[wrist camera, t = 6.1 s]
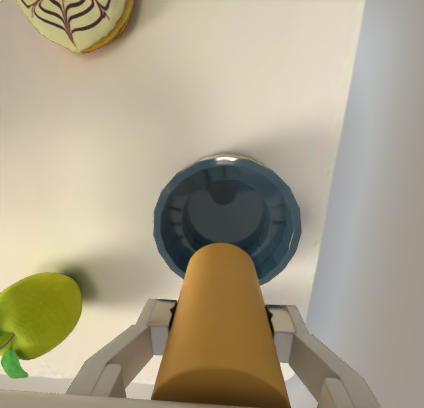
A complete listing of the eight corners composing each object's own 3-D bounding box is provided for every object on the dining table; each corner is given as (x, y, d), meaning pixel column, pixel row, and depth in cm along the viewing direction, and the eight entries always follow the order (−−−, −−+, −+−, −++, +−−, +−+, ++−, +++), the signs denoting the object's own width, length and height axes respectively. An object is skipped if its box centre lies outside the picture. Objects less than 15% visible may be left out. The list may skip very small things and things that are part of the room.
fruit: (64, 318, 32) (-4, 394, 22) (23, 273, 30) (-72, 336, 20) (110, 298, 30) (56, 371, 20) (70, 248, 28) (-11, 304, 18)
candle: (174, 260, 14) (107, 428, 6) (235, 230, 13) (258, 381, 5) (208, 308, 15) (191, 507, 7) (266, 284, 14) (326, 480, 6)
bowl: (144, 191, 25) (124, 203, 20) (252, 128, 22) (260, 125, 17) (203, 280, 28) (199, 310, 23) (304, 236, 25) (323, 260, 20)
